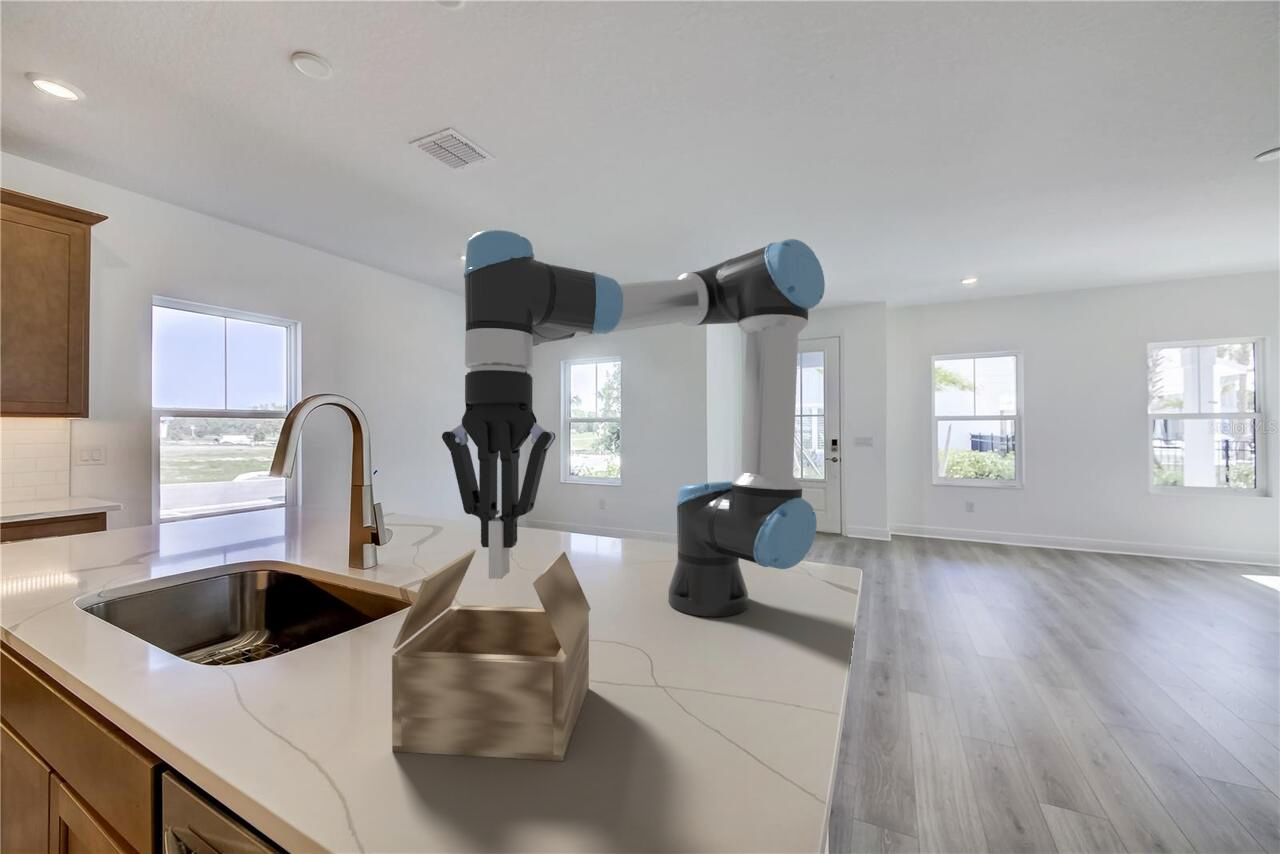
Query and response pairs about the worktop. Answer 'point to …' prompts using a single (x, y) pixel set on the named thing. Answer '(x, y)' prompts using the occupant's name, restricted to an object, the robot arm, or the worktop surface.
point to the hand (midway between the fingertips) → (499, 574)
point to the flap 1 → (434, 596)
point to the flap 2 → (562, 601)
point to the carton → (489, 685)
